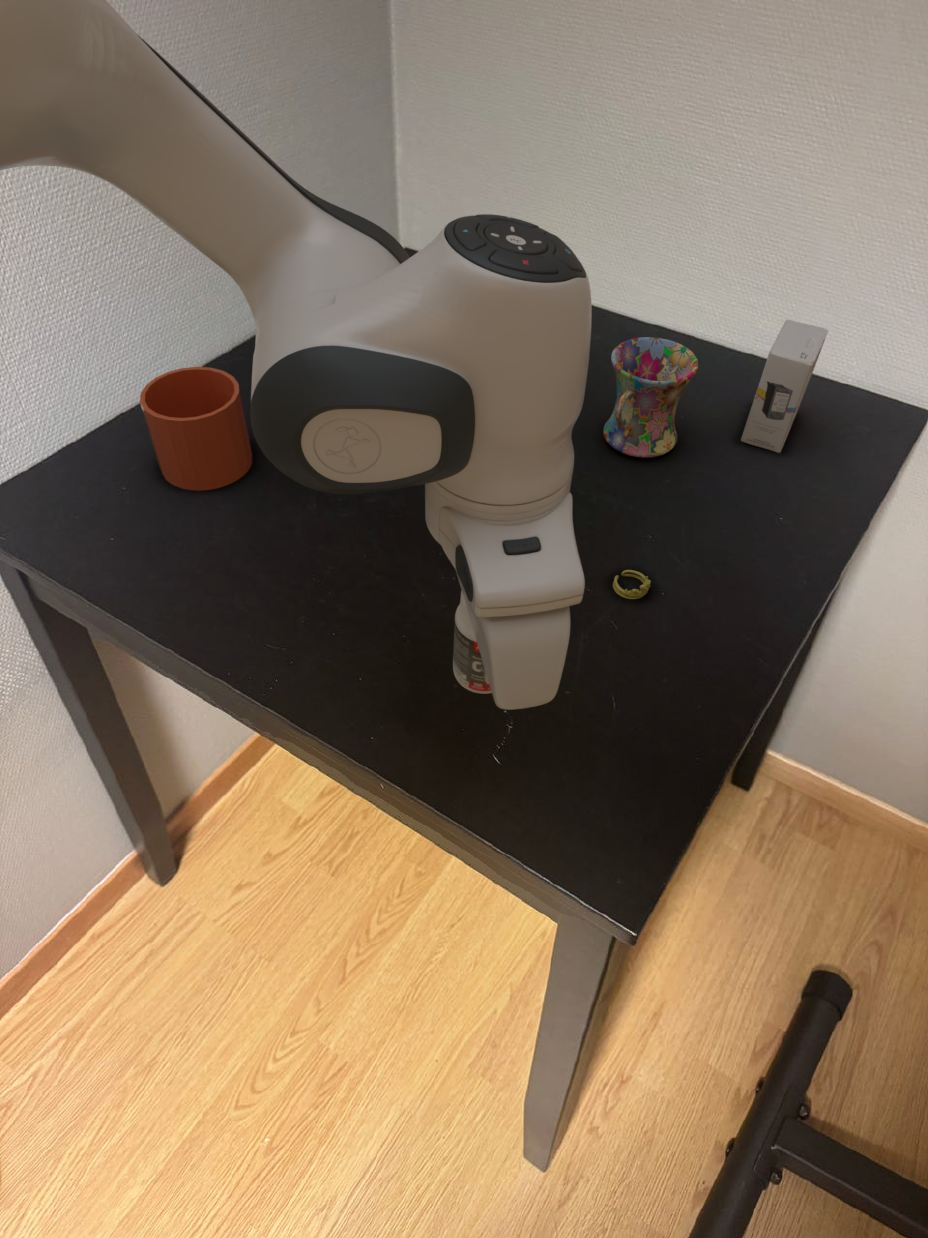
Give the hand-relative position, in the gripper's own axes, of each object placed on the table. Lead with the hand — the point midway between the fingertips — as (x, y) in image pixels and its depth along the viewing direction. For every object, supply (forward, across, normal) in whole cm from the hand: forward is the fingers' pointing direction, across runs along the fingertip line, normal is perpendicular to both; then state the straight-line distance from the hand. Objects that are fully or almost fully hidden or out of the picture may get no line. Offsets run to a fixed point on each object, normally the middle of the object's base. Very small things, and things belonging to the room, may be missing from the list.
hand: (485, 644), depth 63 cm
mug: (+11, -36, +26) cm, 46 cm away
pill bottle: (+3, 0, 0) cm, 3 cm away
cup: (+12, -42, -22) cm, 49 cm away
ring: (+12, -14, +18) cm, 26 cm away
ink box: (+11, -36, +44) cm, 58 cm away
